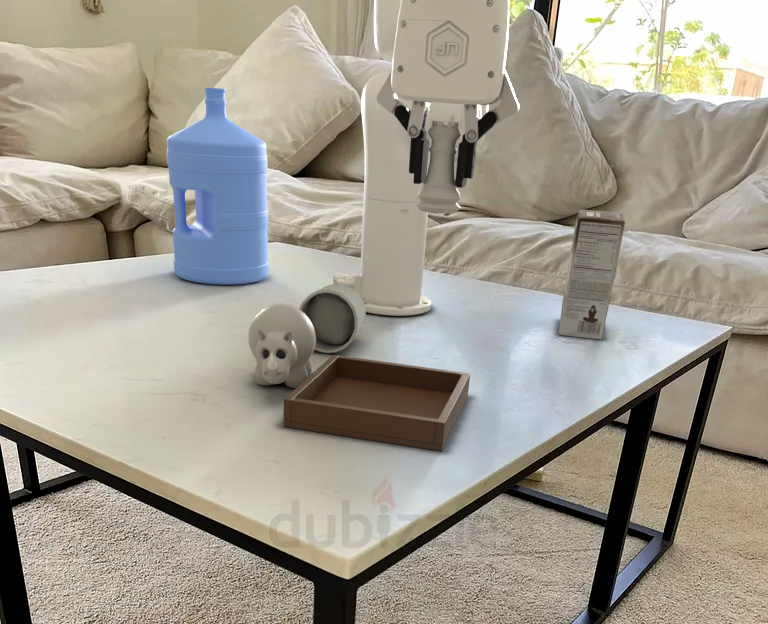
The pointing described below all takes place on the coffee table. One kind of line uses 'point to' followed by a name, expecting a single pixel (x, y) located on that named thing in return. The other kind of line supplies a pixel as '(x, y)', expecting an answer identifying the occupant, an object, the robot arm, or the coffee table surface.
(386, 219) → the robot arm
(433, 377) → the tray
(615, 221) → the coffee box
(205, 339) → the coffee table surface
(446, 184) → the rook chess piece
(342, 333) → the ceramic mug
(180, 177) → the water jug
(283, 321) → the round bodied animal figurine
